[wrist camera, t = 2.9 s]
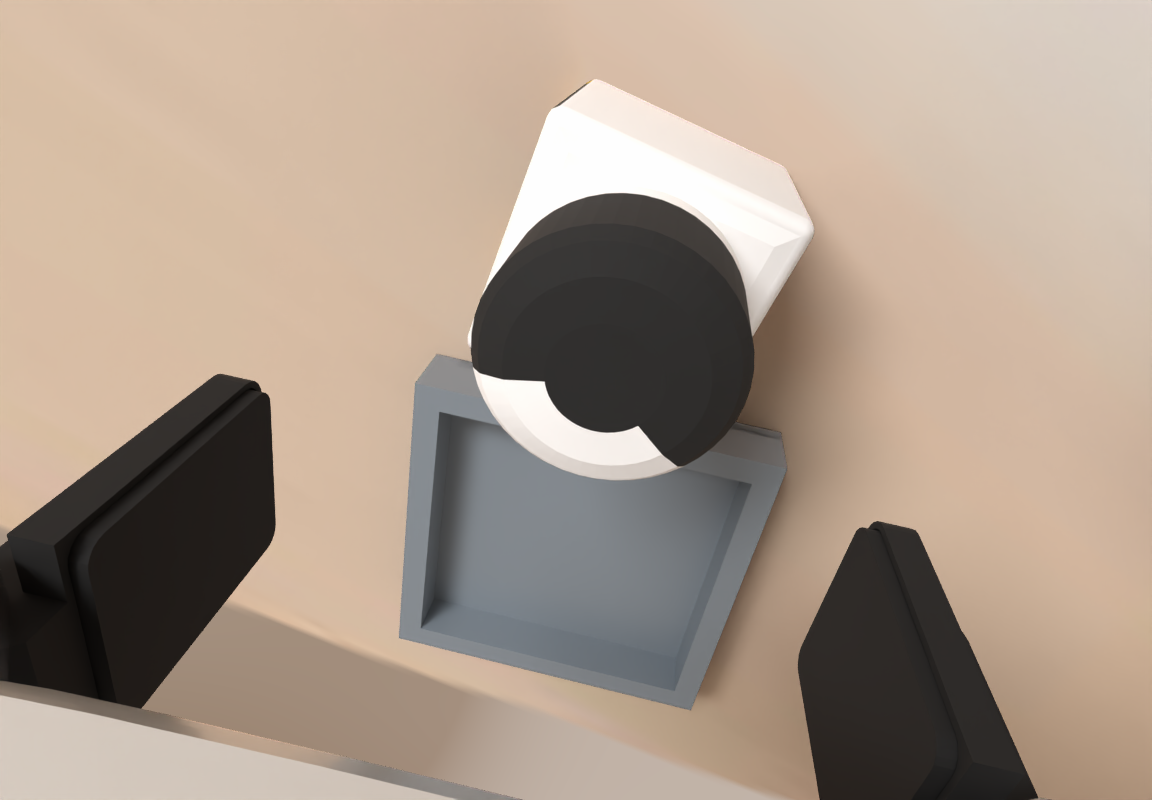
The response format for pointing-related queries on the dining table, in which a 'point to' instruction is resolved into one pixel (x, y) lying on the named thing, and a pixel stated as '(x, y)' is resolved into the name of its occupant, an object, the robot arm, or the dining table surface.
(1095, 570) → the dining table surface
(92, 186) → the dining table surface
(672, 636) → the tray
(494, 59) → the dining table surface
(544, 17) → the dining table surface
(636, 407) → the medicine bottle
